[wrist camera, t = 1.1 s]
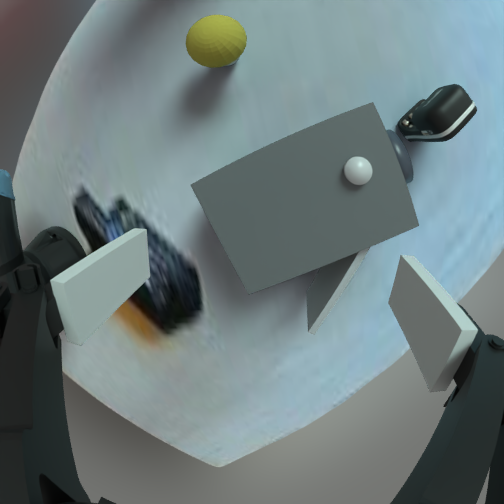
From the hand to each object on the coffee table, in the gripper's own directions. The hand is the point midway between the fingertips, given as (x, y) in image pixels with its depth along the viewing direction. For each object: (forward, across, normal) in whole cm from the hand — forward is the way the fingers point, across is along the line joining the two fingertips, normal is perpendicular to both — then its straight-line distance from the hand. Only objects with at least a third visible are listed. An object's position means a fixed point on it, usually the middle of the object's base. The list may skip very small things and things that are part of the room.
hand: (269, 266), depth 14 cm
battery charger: (+24, +17, +13) cm, 32 cm away
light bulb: (+24, -8, +18) cm, 31 cm away
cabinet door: (+23, +7, -8) cm, 25 cm away
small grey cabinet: (+24, +2, +1) cm, 24 cm away
